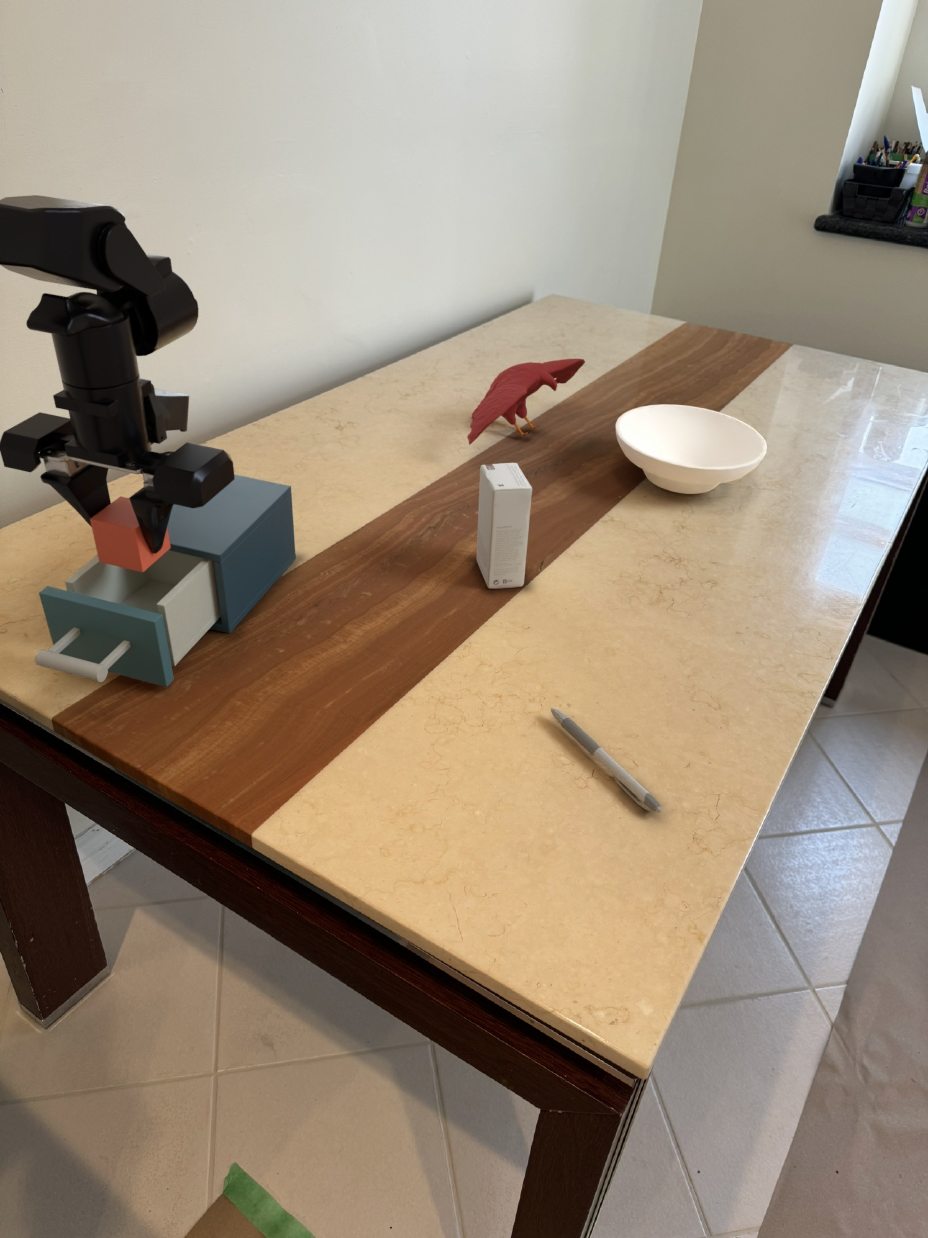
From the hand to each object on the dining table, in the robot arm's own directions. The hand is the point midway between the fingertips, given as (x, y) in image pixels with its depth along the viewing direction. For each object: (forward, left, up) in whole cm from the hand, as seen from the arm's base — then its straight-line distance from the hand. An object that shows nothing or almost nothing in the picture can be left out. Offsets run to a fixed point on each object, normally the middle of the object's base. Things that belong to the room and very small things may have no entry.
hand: (133, 545), depth 77 cm
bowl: (+45, +55, -11) cm, 72 cm away
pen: (+44, -1, -11) cm, 45 cm away
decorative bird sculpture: (+20, +61, -11) cm, 65 cm away
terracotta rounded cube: (0, 0, -1) cm, 1 cm away
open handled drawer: (0, -2, -10) cm, 10 cm away
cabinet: (0, +11, -11) cm, 15 cm away
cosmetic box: (+28, +24, -11) cm, 38 cm away
